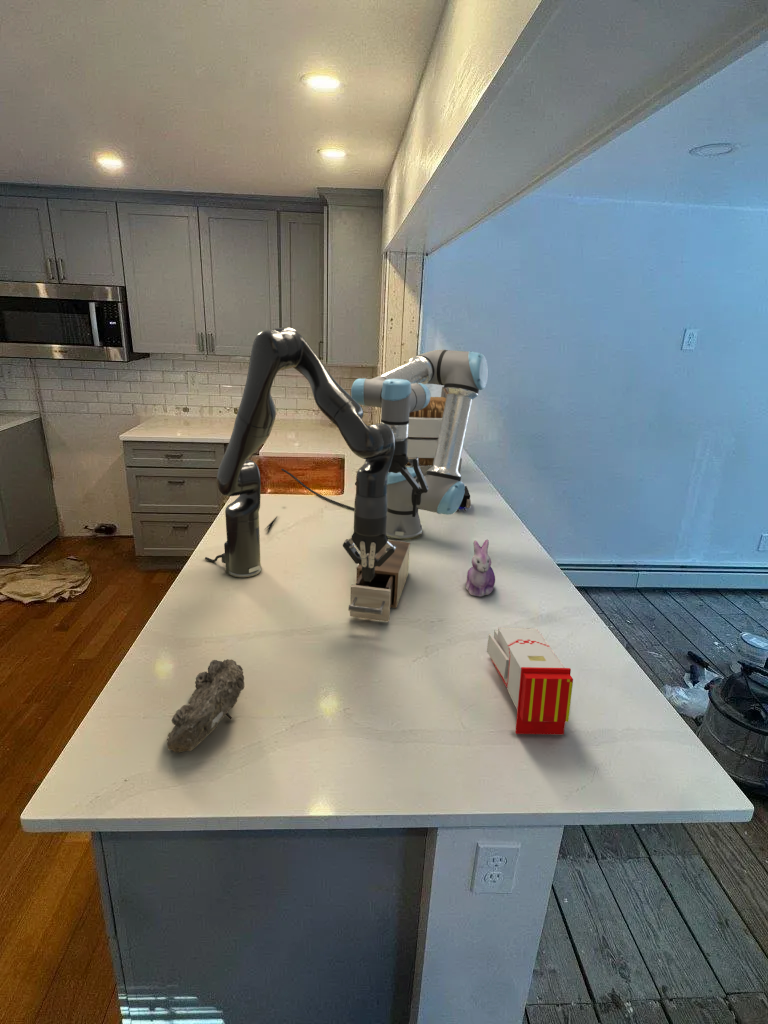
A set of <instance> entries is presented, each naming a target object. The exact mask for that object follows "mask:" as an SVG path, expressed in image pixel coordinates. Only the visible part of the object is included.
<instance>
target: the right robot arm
mask: <svg viewBox="0 0 768 1024" xmlns="http://www.w3.org/2000/svg"><path fill="white" fill-rule="evenodd" d="M488 378H489V367H488V361H487V358H486V357H485V355H484V354H482V353H481V352H475V351H472V350H470V351H469V350H468V351H466V350H451V349H434V350H429V351H426V352H423V353H420V354H418V355H416V356H413V357H411V358H410V359H408V361H407V363H405V364H402V365H400V366H398V367H395V368H394V369H391V370H389V371H386V372H384V373H382V374H380V375H377V376H375V377H372V378H366V377H363V378H356V379H355V380H354V381H353V383H352V385H351V387H350V388H351V389H350V396H351V397H352V398H353V399H354V400H355V401H356V402H357V403H358V404H359V405H360V406H363V407H373V408H380V409H381V410H380V412H381V413H380V423H383V424H386V425H388V426H389V427H390V428H391V430H392V431H393V434H394V438H395V449H394V454H393V458H392V462H391V466H390V469H389V472H388V476H387V507H388V512H387V524H386V535H387V537H388V539H389V540H394V541H410V540H415V539H418V538H420V537H421V536H422V535H423V525H422V524H421V518H420V515H419V510H421V511H426V512H430V513H436V514H439V515H446V516H447V515H448V516H450V515H453V514H455V513H456V512H458V511H457V509H458V508H459V506H460V504H461V502H462V500H463V497H464V492H465V490H464V489H465V486H466V485H465V483H464V482H463V481H462V475H461V474H459V472H458V468H459V463H460V458H462V453H463V447H464V442H465V437H466V433H467V428H468V423H469V418H470V414H471V408H472V404H473V400H474V399H476V398H477V397H479V392H480V391H482V390H485V389H486V387H487V386H486V385H487V384H488ZM427 385H438V386H443V387H444V389H443V390H444V392H445V393H446V395H447V397H446V402H445V407H444V412H443V417H442V422H441V427H440V432H439V437H438V442H437V447H436V452H435V457H434V462H433V466H432V465H431V466H430V468H428V469H427V470H426V474H423V471H422V469H421V466H419V459H418V457H415V458H408V457H407V447H408V441H407V438H408V430H409V413H411V412H415V411H420V410H421V409H423V408H425V407H426V406H427V405H428V404H429V402H430V398H431V397H432V396H431V392H430V389H429V387H428V386H427ZM407 463H410V464H411V467H409V466H407V465H406V464H407ZM281 471H282V472H284V473H285V474H287V475H289V476H290V477H291V478H292V479H293V480H295V481H296V482H297V483H299V484H300V486H302V487H304V488H305V489H306V490H308V491H309V492H310V493H312V494H314V495H315V496H317V497H319V498H321V499H324V500H325V501H328V502H330V503H333V504H335V505H338V506H340V507H343V508H346V509H349V510H352V511H354V506H349V505H348V504H344V503H341V502H339V501H336V500H333V499H330V498H328V497H326V496H324V495H323V494H320V493H318V492H316V491H315V490H313V489H311V488H310V487H308V486H307V485H306V484H304V483H303V482H302V481H301V480H299V479H298V478H297V477H296V476H295V475H293V474H292V473H291V472H289V471H288V470H286V469H284V468H281ZM354 485H355V486H356V481H355V483H354Z"/></svg>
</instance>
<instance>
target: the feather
mask: <svg viewBox="0 0 768 1024" xmlns="http://www.w3.org/2000/svg"><path fill="white" fill-rule="evenodd" d="M277 518H278V516H276V517H275V518H274V519H273V520H272V521H271V522H270V523H269V524H268V525H267V526H266V527H265V528H264V530H266V529H267V530H268V531H267V533H269V531H270V530H271V528H272V526H273V525H274V523H275V522H276V520H277Z"/></svg>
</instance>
